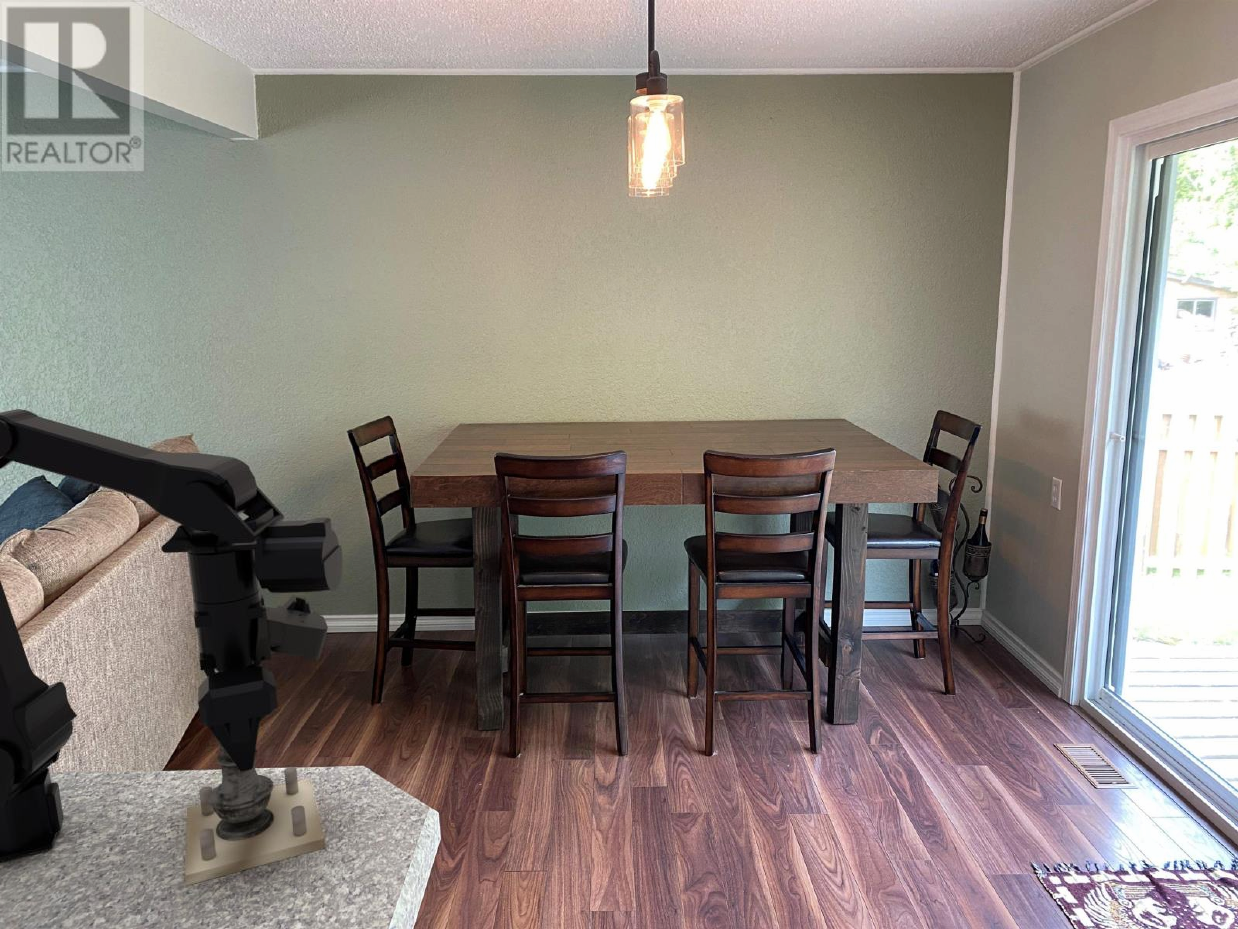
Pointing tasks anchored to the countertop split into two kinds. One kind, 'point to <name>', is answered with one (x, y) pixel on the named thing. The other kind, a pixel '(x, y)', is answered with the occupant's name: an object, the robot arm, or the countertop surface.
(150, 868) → the countertop surface
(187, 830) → the pin board
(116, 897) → the countertop surface
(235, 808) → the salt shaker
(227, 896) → the countertop surface
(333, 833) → the countertop surface
